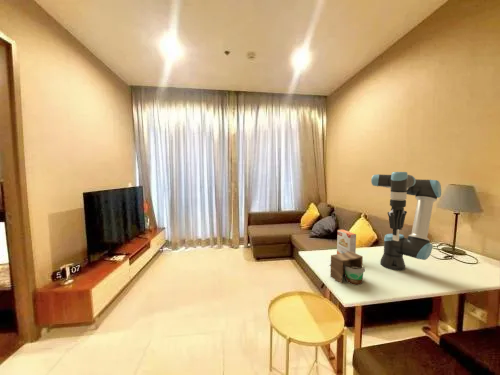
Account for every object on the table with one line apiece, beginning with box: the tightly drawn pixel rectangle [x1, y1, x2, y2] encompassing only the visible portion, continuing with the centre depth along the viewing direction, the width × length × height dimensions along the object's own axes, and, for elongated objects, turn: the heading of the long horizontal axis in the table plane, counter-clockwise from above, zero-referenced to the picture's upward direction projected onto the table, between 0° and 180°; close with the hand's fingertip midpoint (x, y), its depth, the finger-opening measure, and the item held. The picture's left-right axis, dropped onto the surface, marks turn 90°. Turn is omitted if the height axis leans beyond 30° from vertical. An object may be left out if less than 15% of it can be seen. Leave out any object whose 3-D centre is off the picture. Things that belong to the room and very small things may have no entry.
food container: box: [343, 265, 366, 286], centre depth 135 cm, size 12×6×10 cm, turn 78°
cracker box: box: [336, 229, 357, 254], centre depth 174 cm, size 14×6×21 cm, turn 20°
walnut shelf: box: [329, 252, 364, 284], centre depth 142 cm, size 17×9×14 cm, turn 111°
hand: (395, 240), depth 126 cm, fingers closed
